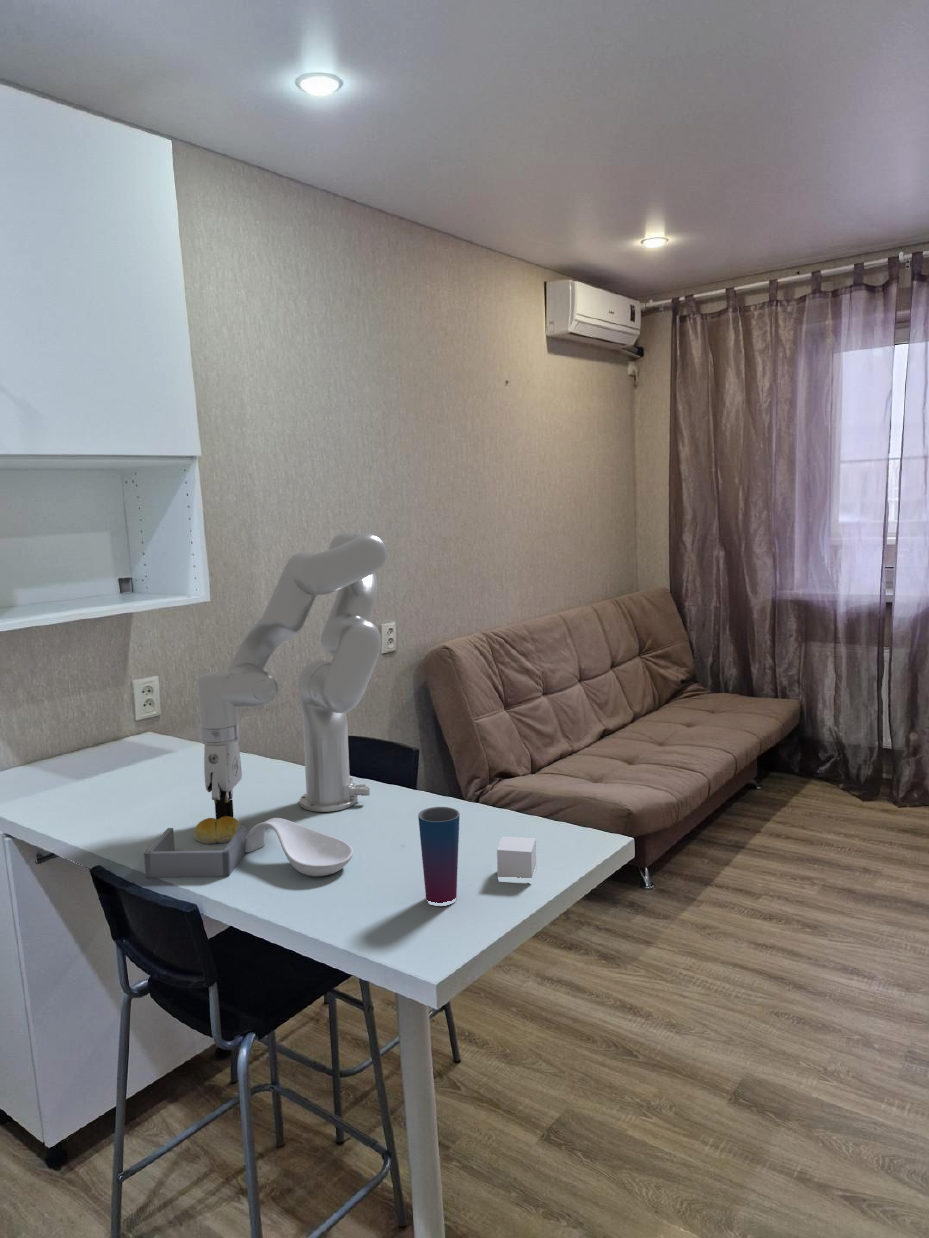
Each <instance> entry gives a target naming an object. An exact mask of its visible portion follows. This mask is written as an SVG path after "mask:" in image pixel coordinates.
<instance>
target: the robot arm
mask: <svg viewBox="0 0 929 1238" xmlns="http://www.w3.org/2000/svg"><path fill="white" fill-rule="evenodd" d="M387 555H388V551H387V546H386V545H385V543H384V542H383V540H382V538H381V537H379V536H377V535H375V534H372V533H367V532H365V533H364V532H354V531H346V532H340V533H338V534H336V535H335V536H334V537H333V538H332V539H331V541H330V543H329V548H328V550H324V551H322V552H310V551H300V552H297V553H295V554H293V555H291V556H290V558H289V559H288V560H287V561H286V564H285V566H284V568H283V571H282V572H281V574H280V576H279V579H278V581H277V583H276V586H275V588H274V590H273V592H272V594H271V597H270V599H269V601H268V603H267V606H266V608H265V609H264V612H263V613H262V614H261V615H262V616H260V618H258V620H257V621H256V623H255V624H254V625H253V626H252V628H251V629H250V630H249V632H247V634H246V635H245V637H244V638H243V640H242V641H241V643H240V645H239V646H238V648H237V651H236V653H235V655H234V657H233V659H232V660H231V661H232V662H231V664H230V665H229V668H228V670H227V671H212V672H207V673H204V674H201V675H200V676H199V677H198V679H197V698H198V713H199V714H198V715H199V717H198V718H199V729H200V742H201V744H203V745H204V753H203V756H204V757H203V759H204V761H203V763H204V764H203V767H204V785H205V790H206V791H207V792H208V793H211V800H212V801H213V802H214V809H215V810H214V811H215V813H214V814H215V819H220V818H221V817H224V816H230V817H233V818H234V805H233V804H234V803H233V796H234V795H233V794H234V793H233V792H234V791H233V789H234V788H235V787H236V786H237V785H238V784H239V782H240V781H241V779H242V777H243V772H242V771H243V770H242V761H241V751H240V746H239V745H240V744H239V740H240V727H239V711H238V710H239V709H238V708H243V707H245V708H246V707H247V708H248V707H250V708H253V707H254V708H256V707H263V706H268V705H269V704H271V702H273V701H274V700H275V698H276V697H277V695H278V693H279V685H278V681H277V679H276V677H275V676H273V675H272V673H270V672H268V671H267V670H266V668H267V666H268V664H269V662H270V660H271V658H272V656H273V655H274V653H276V651H277V650H278V649H279V647H280V646H281V645H283V644H284V643H285V642H288V641H289V640H291V639H293V638H294V637H295V636H297V635H298V634H299V633H301V631H302V630H303V627H304V625H305V623H306V621H307V618H308V616H309V613H310V611H311V610H312V607H313V605H314V602H315V600H316V598H317V597H318V596H324V595H328V594H331V593H334V592H337V593H336V596H335V599H334V602H333V604H332V607H331V609H330V611H329V614H328V617H327V619H326V622H325V624H324V627H323V629H322V632H321V635H320V636H321V637H320V643H321V647H322V649H323V650H324V651H325V652H326V653H327V654H328V655H331V656H333V657H332V660H331V661H329V660H323V659H322V660H314V661H311V662H309V663H308V664H306V665H305V666H304V667H303V668H302V669H301V671H300V673H299V676H298V678H297V693H298V697H299V704H300V707H301V714H302V715H301V716H302V725H303V727H302V729H303V750H304V771H305V790H306V793H305V794H302V796H300V798H299V806H300V807H301V808H302V809H305V810H306V811H310V812H318V813H319V812H321V813H327V812H329V813H330V812H336V811H341V810H342V811H343V810H345V809H348V808H351V807H352V806H354V805H356V803H357V802H358V796H361V797H362V796H363V797H364V796H365V797H367V796H368V797H369V796H370V795H371V786H367V784H365V783H364V784H363V783H362V784H356V783H355V782H354V780H353V777H350V776H351V775H350V759H349V757H350V756H349V733H348V732H349V731H348V730H349V729H348V719H347V717H348V716H347V713H348V712H350V711H352V710H353V709H354V708H356V707H357V706H358V704H359V703H360V702H361V700H362V698H363V696H364V694H365V692H366V690H367V686H368V684H369V681H370V679H371V677H372V674H373V672H374V669H375V667H376V664H377V662H378V659H379V656H380V653H381V646H382V638H381V637H382V636H381V634H380V631H379V630H378V627H377V626H376V625H375V624H374V623H372V622H371V621H370V620H371V616H372V614H373V611H374V607H375V605H376V602H377V597H378V581H377V575H376V573H377V572H378V571H380V570H381V569H382V567H383V566H384V564H385V563H386V561H387Z"/></svg>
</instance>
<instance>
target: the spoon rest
mask: <svg viewBox="0 0 929 1238" xmlns="http://www.w3.org/2000/svg"><path fill="white" fill-rule="evenodd" d="M268 828H269V829H272V830H273V831H274V832H275V834H276V835H277V838H278V840H279V843H280V846H281V848H282V851H283V853H284V855H285V856H286V859H287V860H288V861H289V863H290V865H291V866H292V867H293V868H294V869H295V870H296V871H298V872H299V873H301V874H303V875H305V874H306V875H305V876H308V875H309V876H308V877H324V876H328V875H333V874H335V873H337V872H338V871H340V870H341V869H343V868H344V867H346V866H347V865H348V863H349V862H350V861H351V859H353V858H352V857H353V856H354V850H353V847H352V846H351V845H350V844H348V843H347V842H346V841H344V840H342V839H340V838H337V837H334V836H332V835H329V834H327V833H326V834H325V833H322V832H320V831H319V830H316V829H312V828H309V827H308V826H307V827H306V826H304V825H303V824H302V825H301V824H299V823H296V822H294V821H291V820H289V819H285V818H281V817H273V818H270V819H267V820H265V821H264V822H260V823H259V822H258V823H257V824H255V825H254V826H253V827H252V828H251V829H250V830H249V832H248V834H247V835H246V842H245V853H252V852H254V851H256V850H258V849H261V848H263V847H264V846H265V843H266V842H265V839H266V837H265V836H266V829H268Z"/></svg>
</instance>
